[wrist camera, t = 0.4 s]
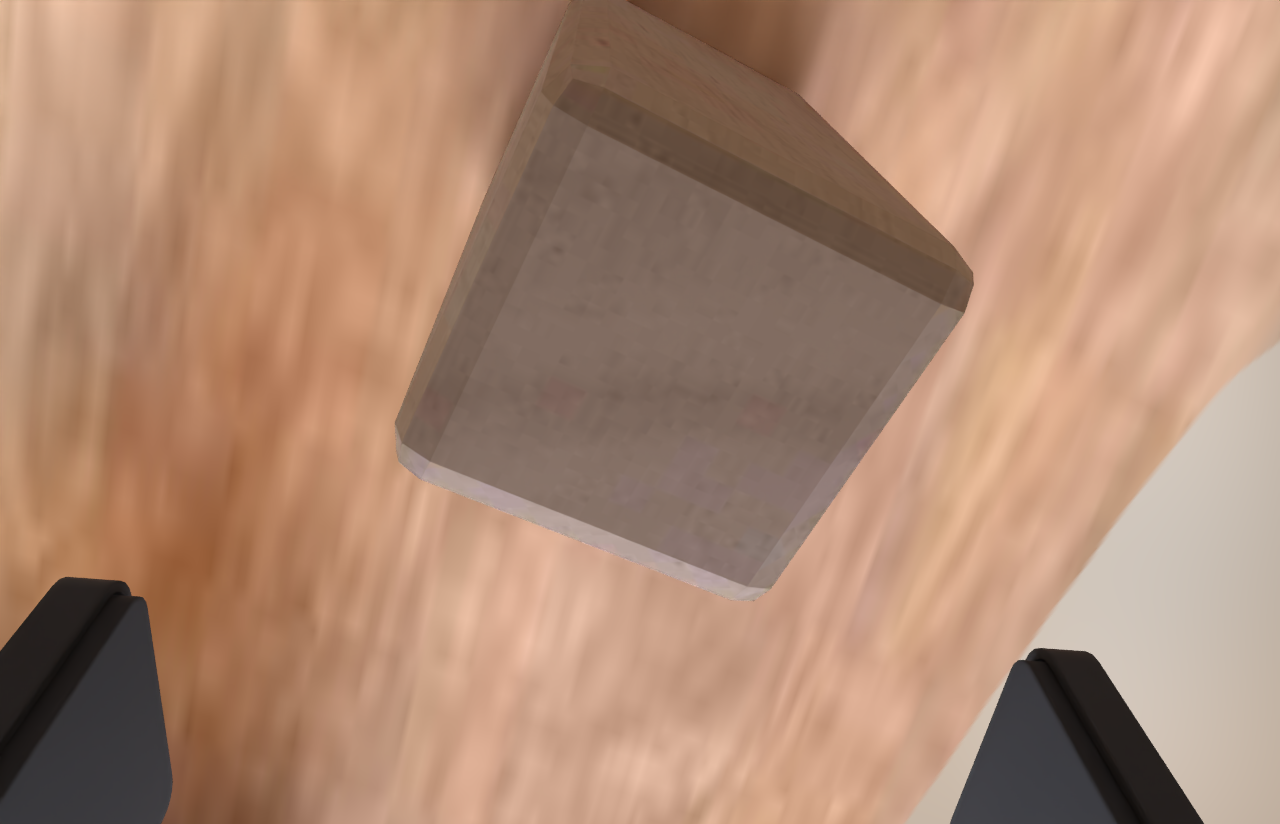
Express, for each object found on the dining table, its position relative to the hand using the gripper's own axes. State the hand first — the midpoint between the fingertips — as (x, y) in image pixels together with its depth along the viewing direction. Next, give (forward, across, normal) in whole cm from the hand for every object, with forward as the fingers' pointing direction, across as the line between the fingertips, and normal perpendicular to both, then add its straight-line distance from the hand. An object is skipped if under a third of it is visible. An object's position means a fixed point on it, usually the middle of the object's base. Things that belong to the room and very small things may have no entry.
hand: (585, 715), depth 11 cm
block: (+31, -2, +1) cm, 31 cm away
